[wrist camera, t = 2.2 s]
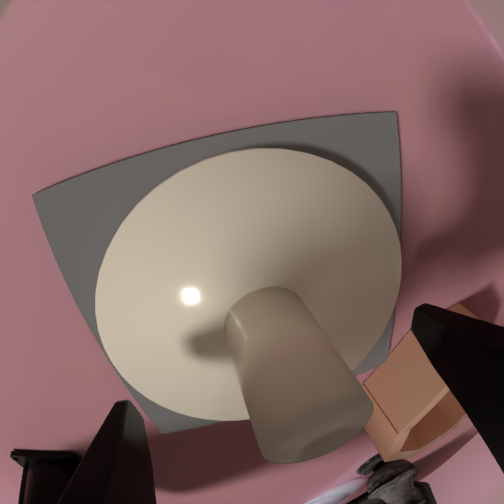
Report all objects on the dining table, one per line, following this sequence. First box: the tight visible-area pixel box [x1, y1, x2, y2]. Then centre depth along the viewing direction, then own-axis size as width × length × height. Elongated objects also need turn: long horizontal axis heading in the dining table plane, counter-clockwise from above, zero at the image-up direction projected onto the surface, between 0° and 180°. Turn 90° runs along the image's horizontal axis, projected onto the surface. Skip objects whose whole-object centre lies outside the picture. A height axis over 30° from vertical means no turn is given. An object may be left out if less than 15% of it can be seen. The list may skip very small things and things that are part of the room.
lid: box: [95, 147, 402, 464], centre depth 8 cm, size 11×11×5 cm
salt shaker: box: [357, 454, 426, 504], centre depth 18 cm, size 6×6×12 cm
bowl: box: [362, 303, 480, 462], centre depth 15 cm, size 10×10×4 cm
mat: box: [32, 112, 401, 434], centre depth 11 cm, size 12×12×1 cm
